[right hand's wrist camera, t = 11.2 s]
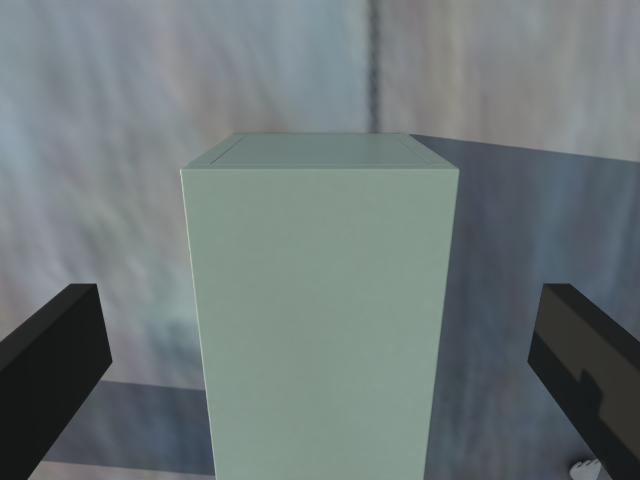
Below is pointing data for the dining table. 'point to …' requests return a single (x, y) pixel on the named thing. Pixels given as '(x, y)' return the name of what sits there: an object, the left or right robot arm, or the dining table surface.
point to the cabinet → (320, 300)
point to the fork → (586, 470)
